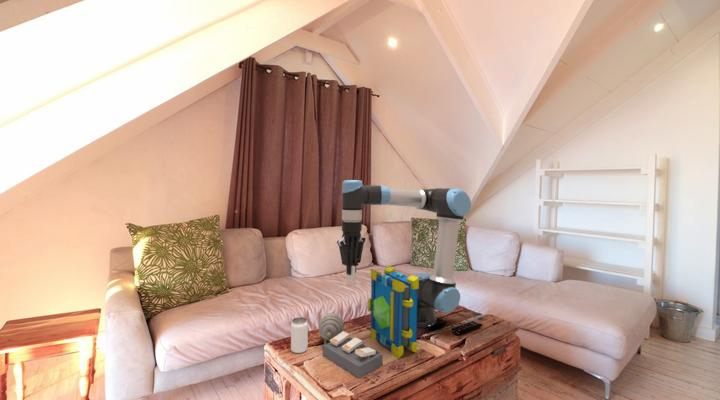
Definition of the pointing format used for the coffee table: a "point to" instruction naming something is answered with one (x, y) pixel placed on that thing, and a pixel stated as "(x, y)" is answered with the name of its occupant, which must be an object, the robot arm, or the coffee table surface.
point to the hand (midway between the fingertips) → (351, 282)
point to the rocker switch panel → (352, 358)
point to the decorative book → (394, 310)
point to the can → (299, 335)
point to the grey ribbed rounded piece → (330, 326)
